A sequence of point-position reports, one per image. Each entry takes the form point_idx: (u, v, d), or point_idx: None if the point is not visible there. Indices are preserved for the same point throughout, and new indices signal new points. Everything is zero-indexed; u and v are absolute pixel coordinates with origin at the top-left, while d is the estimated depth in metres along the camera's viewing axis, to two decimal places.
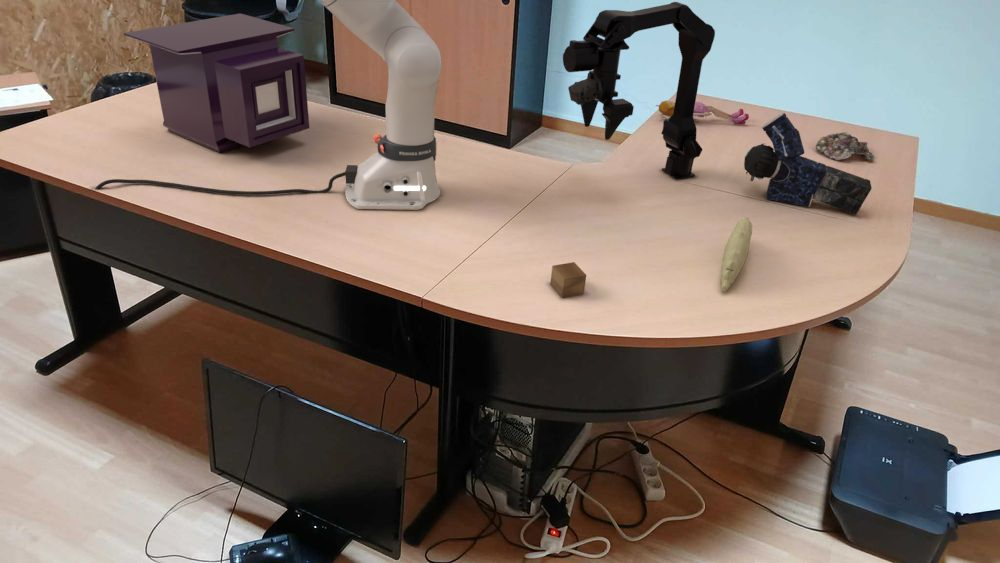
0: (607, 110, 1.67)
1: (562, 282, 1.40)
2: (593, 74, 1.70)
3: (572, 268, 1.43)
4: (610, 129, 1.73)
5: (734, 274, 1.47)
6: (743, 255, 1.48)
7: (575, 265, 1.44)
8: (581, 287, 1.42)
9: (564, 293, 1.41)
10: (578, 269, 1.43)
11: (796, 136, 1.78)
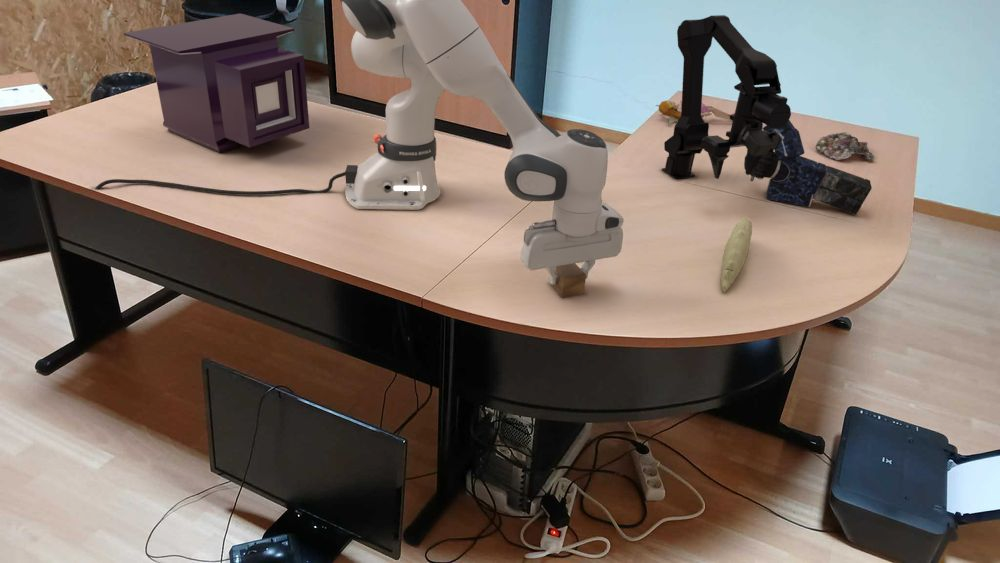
0: None
1: (562, 282, 1.40)
2: (752, 123, 1.67)
3: (572, 268, 1.43)
4: None
5: (734, 274, 1.47)
6: (743, 255, 1.48)
7: (575, 265, 1.44)
8: (581, 287, 1.42)
9: (564, 293, 1.41)
10: (578, 269, 1.43)
11: (796, 136, 1.78)
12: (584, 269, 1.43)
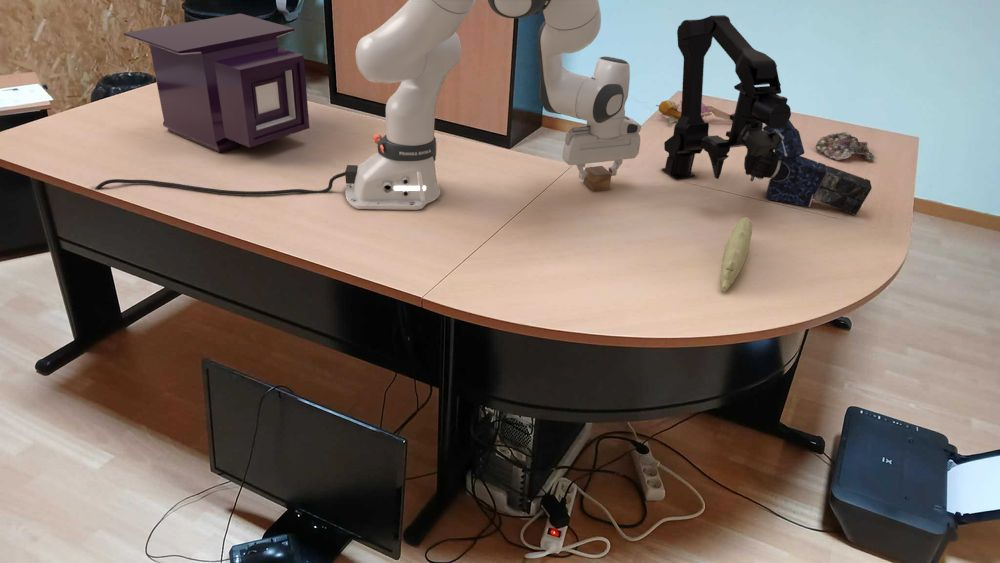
0: None
1: (593, 179, 1.83)
2: (752, 123, 1.67)
3: (600, 169, 1.85)
4: None
5: (734, 274, 1.47)
6: (743, 255, 1.48)
7: (602, 167, 1.87)
8: (607, 183, 1.85)
9: (594, 187, 1.84)
10: (605, 170, 1.85)
11: (796, 136, 1.78)
12: (614, 167, 1.86)
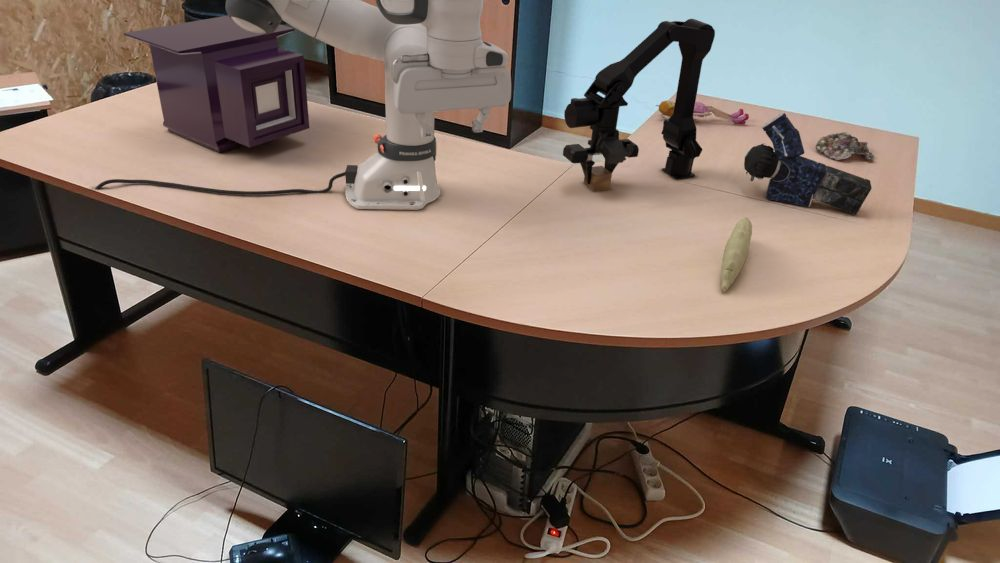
0: (633, 153, 1.83)
1: (593, 179, 1.83)
2: (608, 132, 1.77)
3: (600, 169, 1.85)
4: None
5: (734, 274, 1.47)
6: (743, 255, 1.48)
7: (603, 167, 1.87)
8: (607, 183, 1.85)
9: (595, 187, 1.84)
10: (605, 170, 1.85)
11: (796, 136, 1.78)
12: (479, 120, 1.27)
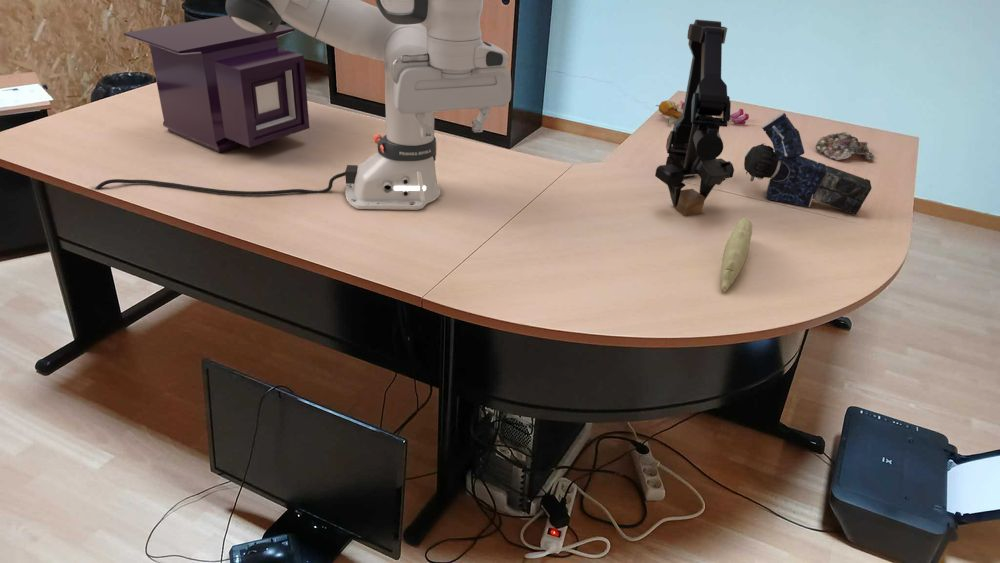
0: None
1: (686, 203, 1.74)
2: None
3: (692, 193, 1.77)
4: None
5: (734, 274, 1.47)
6: (743, 255, 1.48)
7: (694, 190, 1.78)
8: (700, 207, 1.76)
9: (687, 212, 1.75)
10: (697, 193, 1.77)
11: (796, 136, 1.78)
12: (479, 120, 1.27)
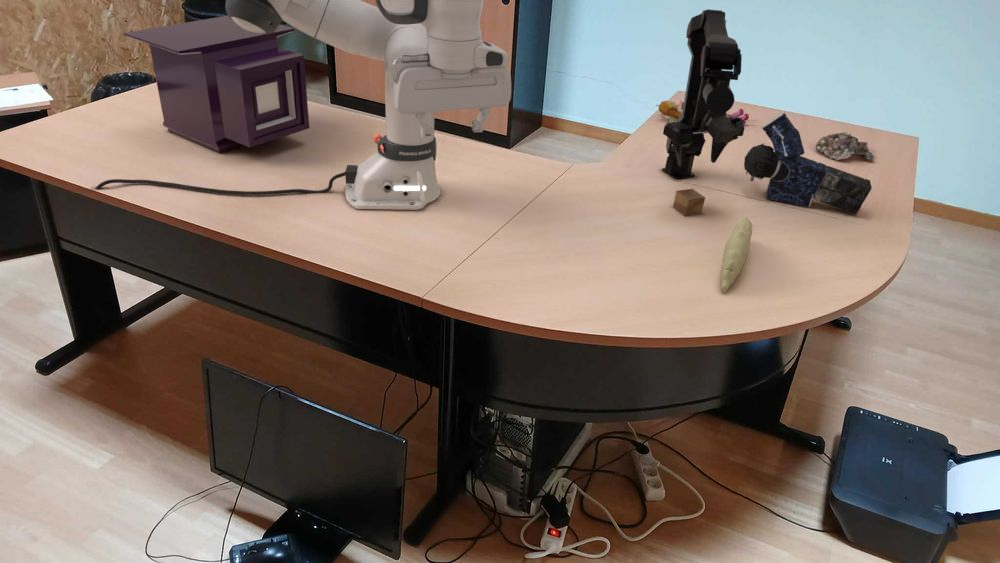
0: None
1: (686, 203, 1.74)
2: None
3: (692, 193, 1.77)
4: None
5: (734, 274, 1.47)
6: (743, 255, 1.48)
7: (694, 190, 1.78)
8: (700, 207, 1.76)
9: (687, 212, 1.75)
10: (697, 193, 1.77)
11: (796, 136, 1.78)
12: (479, 120, 1.27)
